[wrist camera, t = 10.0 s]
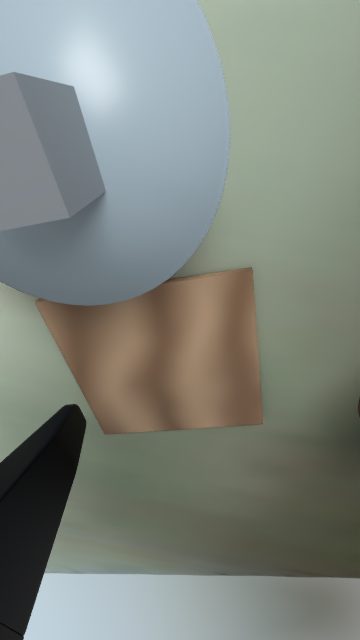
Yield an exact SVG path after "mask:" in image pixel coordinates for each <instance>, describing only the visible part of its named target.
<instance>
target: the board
mask: <svg viewBox="0 0 360 640" xmlns="http://www.w3.org/2000/svg"><path fill="white" fill-rule="evenodd" d="M35 304H36V306H37V308H38V310H39V311H40V313H41V315H42V317H43V319H44V321H45V323H46V325H47V326H48V328H49V330H50V332H51V334H52V336H53V338H54V340H55V341H56V343H57V345H58V347H59V349H60V351H61V353H62V355H63V357H64V358H65V360H66V362H67V364H68V366H69V368H70V370H71V372H72V373H73V375H74V377H75V379H76V381H77V383H78V385H79V387H80V388H81V390H82V392H83V394H84V396H85V398H86V400H87V402H88V403H89V405H90V407H91V409H92V411H93V413H94V415H95V417H96V419H97V420H98V422H99V424H100V426H101V428H102V430H103V432H104V434H119V433H134V432H150V431H166V430H181V429H197V428H213V427H229V426H244V425H260V424H263V412H262V398H261V383H260V369H259V355H258V340H257V326H256V312H255V298H254V283H253V270H252V267H250V268H244V269H237V270H230V271H224V272H217V273H210V274H204V275H197V276H190V277H183V278H177V279H170V280H166V281H165V282H163V283H162V284H160V285H159V286H157V287H156V288H154V289H152V290H150V291H148V292H146V293H144V294H142V295H140V296H137V297H134V298H131V299H128V300H125V301H121V302H116V303H111V304H105V305H92V306H86V305H70V304H63V303H57V302H53V301H49V300H45V299H38V300H37V301H36V302H35Z"/></svg>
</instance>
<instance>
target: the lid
mask: <svg viewBox="0 0 360 640" xmlns="http://www.w3.org/2000/svg"><path fill="white" fill-rule="evenodd" d="M229 149H230V118H229V105H228V98H227V91H226V84H225V78H224V74H223V70H222V66H221V62H220V59H219V55H218V51H217V47H216V44H215V41H214V39H213V36H212V33H211V31H210V28H209V25H208V23H207V20H206V18H205V15H204V12H203V10H202V8H201V6H200V4H199V2H198V0H0V281H1V282H2V283H4V284H6V285H9V286H11V287H13V288H15V289H17V290H19V291H21V292H24V293H27V294H29V295H32V296H35V297H37V298H41V299H45V300H49V301H53V302H57V303H63V304H70V305H86V306H92V305H105V304H111V303H116V302H121V301H125V300H128V299H131V298H134V297H137V296H140V295H142V294H144V293H146V292H148V291H150V290H152V289H154V288H156V287H157V286H159V285H160V284H162V283H163V282H165V281H166V280H168V279H169V278H170V277H171V276H172V275H174V274H175V273H176V272H177V271H178V270H179V269H180V268H181V267H183V265H184V264H185V263H186V262H187V261H188V260H189V258H190V257H191V256H192V255H193V254H194V253H195V251H196V250H197V248H198V247H199V245H200V243H201V242H202V240H203V239H204V237H205V236H206V234H207V232H208V230H209V228H210V226H211V224H212V221H213V219H214V217H215V215H216V212H217V209H218V206H219V203H220V200H221V197H222V194H223V190H224V185H225V180H226V175H227V170H228V161H229Z"/></svg>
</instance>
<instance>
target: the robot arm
mask: <svg viewBox="0 0 360 640" xmlns="http://www.w3.org/2000/svg"><path fill="white" fill-rule="evenodd" d="M358 413H359V417H360V399H359V404H358ZM85 429H86V419H85V417H84V415H83V413H82V412H81V410H80V408H79V406H78V405H76V404H70V405H65V406H63V407H62V408H61V409H60V410H59V411H58V412H56V413H55V414H54V415H53V416H52V417H51V418H50V419H49V420H48V421H46V422H45V423H44V424H43V425H42V426H41V427H40V428H39V429H38V430H36V431H35V432H34V433H33V434H32V435H31V436H30V437H29V438H27V439H26V440H25V441H24V442H23V443H22V444H21V445H20V446H19V447H17V448H16V449H15V450H14V451H13V452H12V453H11V454H10V455H9V456H7V457H6V458H5V459H4V460H3V461H2V462H1V463H0V640H23V639H24V636H23V635H24V634H25V632H26V629H27V625H28V622H29V619H30V616H31V613H32V610H33V606H34V603H35V600H36V597H37V593H38V591H39V587H40V584H41V581H42V578H43V575H44V572H45V569H46V566H47V562H48V559H49V556H50V553H51V550H52V547H53V543H54V540H55V537H56V534H57V531H58V528H59V525H60V521H61V518H62V515H63V512H64V509H65V506H66V503H67V499H68V496H69V493H70V490H71V487H72V484H73V481H74V477H75V474H76V471H77V467H78V462H79V458H80V453H81V448H82V443H83V439H84V434H85Z"/></svg>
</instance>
